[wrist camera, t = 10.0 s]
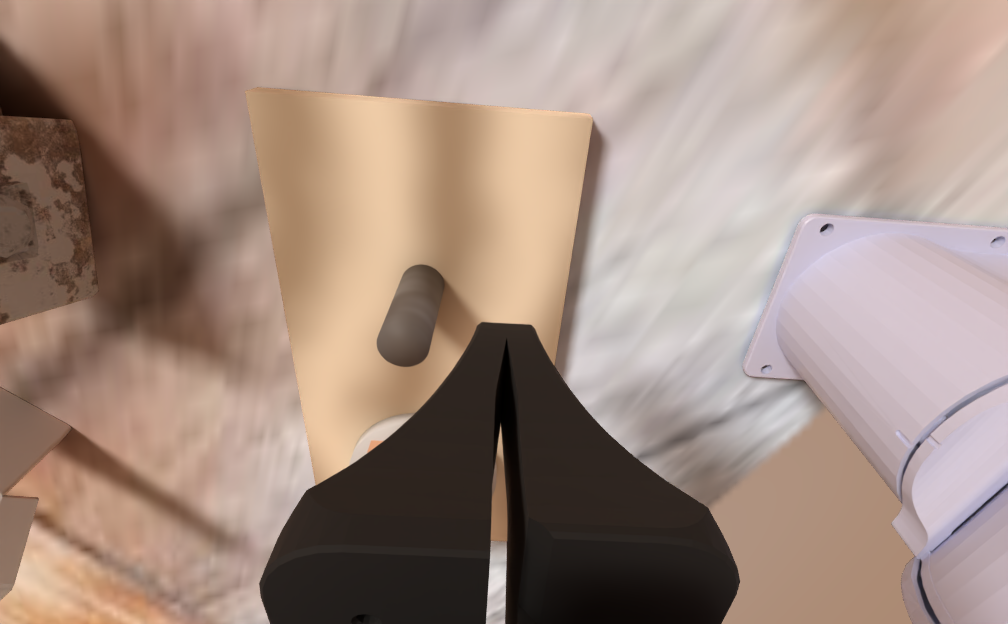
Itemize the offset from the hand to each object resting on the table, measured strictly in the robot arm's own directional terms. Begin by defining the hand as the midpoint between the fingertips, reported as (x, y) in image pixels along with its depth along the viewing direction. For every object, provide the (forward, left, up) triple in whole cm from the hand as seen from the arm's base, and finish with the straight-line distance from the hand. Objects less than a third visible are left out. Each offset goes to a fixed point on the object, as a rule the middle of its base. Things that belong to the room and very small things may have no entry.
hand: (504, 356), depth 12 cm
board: (+3, +8, -9) cm, 13 cm away
